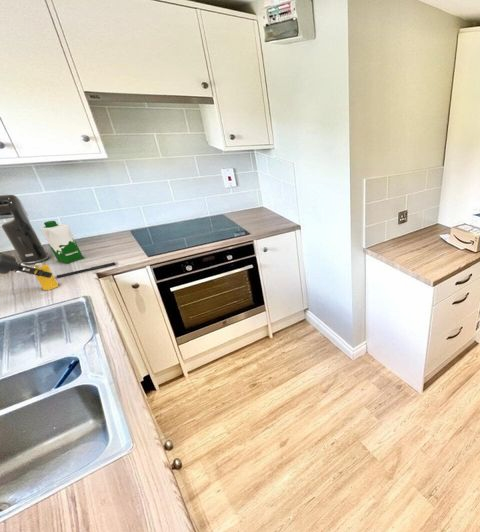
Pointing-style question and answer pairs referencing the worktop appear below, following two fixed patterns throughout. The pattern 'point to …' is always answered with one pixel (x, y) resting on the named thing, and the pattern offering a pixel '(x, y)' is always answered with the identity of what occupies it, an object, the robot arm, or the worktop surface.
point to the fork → (87, 269)
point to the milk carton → (61, 242)
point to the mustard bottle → (44, 281)
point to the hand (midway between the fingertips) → (44, 274)
